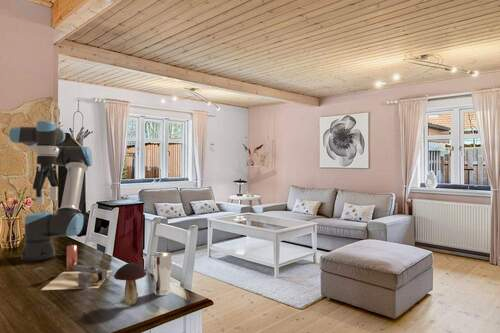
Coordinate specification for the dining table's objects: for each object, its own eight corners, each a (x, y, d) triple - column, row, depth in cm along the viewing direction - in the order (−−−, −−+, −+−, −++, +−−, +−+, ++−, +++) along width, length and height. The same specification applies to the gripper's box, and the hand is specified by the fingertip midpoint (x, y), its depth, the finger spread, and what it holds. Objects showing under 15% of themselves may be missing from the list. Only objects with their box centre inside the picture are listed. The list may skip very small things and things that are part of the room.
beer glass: (155, 289, 137) (155, 252, 136) (173, 289, 137) (173, 251, 137) (151, 296, 130) (151, 257, 129) (170, 296, 130) (170, 256, 130)
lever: (74, 269, 153) (73, 244, 152) (109, 277, 143) (109, 250, 143) (63, 273, 148) (63, 246, 148) (99, 280, 139) (99, 253, 139)
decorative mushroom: (152, 301, 126) (152, 260, 125) (133, 313, 115) (133, 269, 115) (127, 297, 129) (127, 257, 129) (106, 309, 119) (106, 265, 118)
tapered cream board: (63, 275, 152) (62, 260, 152) (112, 273, 155) (112, 259, 155) (40, 294, 131) (40, 277, 131) (98, 291, 134) (98, 275, 134)
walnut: (89, 281, 141) (89, 272, 140) (100, 281, 141) (99, 271, 141) (86, 285, 137) (86, 275, 137) (96, 284, 137) (96, 274, 137)
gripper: (42, 155, 144) (42, 206, 144) (66, 155, 169) (66, 198, 169) (23, 155, 143) (23, 206, 143) (49, 155, 168) (50, 199, 168)
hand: (46, 202), depth 156 cm, fingers open, 13 cm apart
